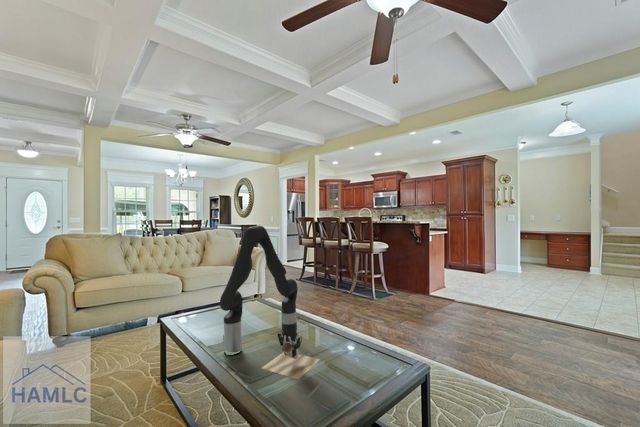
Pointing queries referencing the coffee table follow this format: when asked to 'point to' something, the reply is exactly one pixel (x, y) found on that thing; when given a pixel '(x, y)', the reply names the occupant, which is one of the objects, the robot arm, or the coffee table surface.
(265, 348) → the coffee table surface
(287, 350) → the white block
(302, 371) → the wooden board
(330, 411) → the coffee table surface
